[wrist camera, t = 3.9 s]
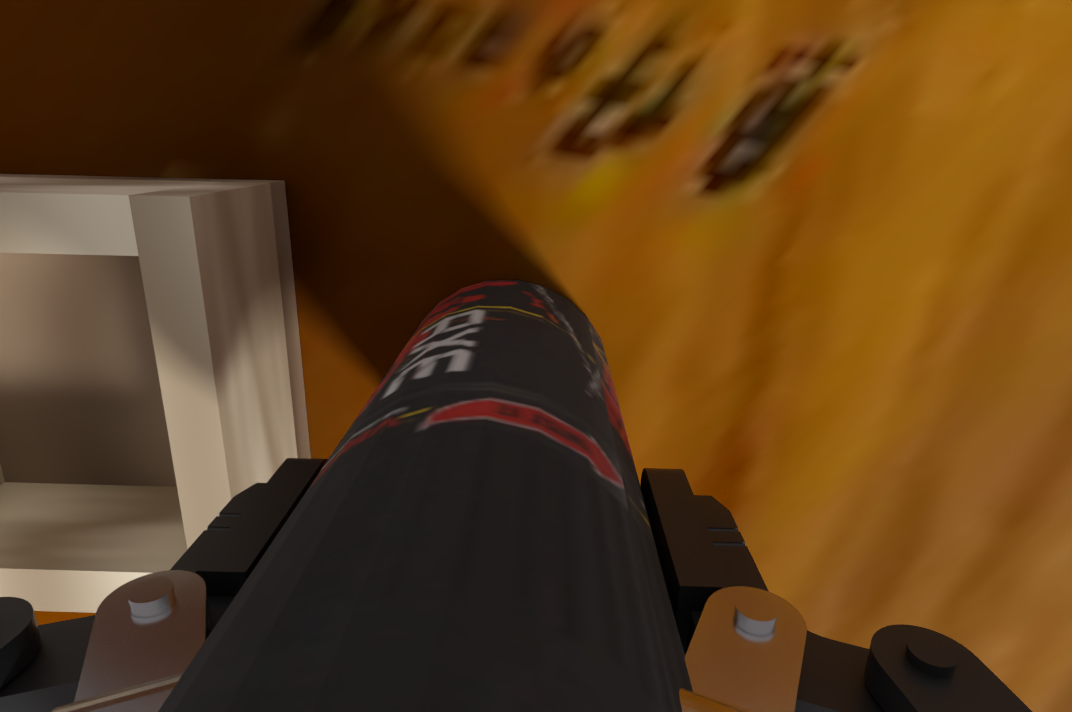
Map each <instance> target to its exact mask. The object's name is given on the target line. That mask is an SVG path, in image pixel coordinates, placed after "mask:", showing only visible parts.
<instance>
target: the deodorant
mask: <svg viewBox="0 0 1072 712" xmlns="http://www.w3.org/2000/svg"><path fill="white" fill-rule="evenodd" d="M684 658H685V655H684V651H683V647H682V643H681V639H680V636H679V632H678V628H677V624H676V620H675V617H674V613H673V609H672V605H671V602H670V598H669V594H668V590H667V586H666V583H665V579H664V575H663V571H662V567H661V564H660V560H659V556H658V552H657V548H656V545H655V541H654V537H653V533H652V529H651V526H650V522H649V518H648V514H647V510H646V507H645V503H644V499H643V495H642V491H641V488H640V484H639V480H638V476H637V473H636V469H635V465H634V461H633V457H632V454H631V450H630V446H629V442H628V438H627V435H626V431H625V427H624V423H623V419H622V416H621V412H620V408H619V404H618V400H617V397H616V393H615V389H614V385H613V381H612V378H611V374H610V370H609V366H608V363H607V359H606V355H605V352H604V348H603V345H602V341H601V339H600V337H599V336H598V334H597V332H596V331H595V329H594V327H593V326H592V324H591V322H590V321H589V319H588V318H587V317H586V316H585V315H584V314H583V313H582V312H581V311H580V310H579V309H578V308H577V307H576V306H575V305H574V304H573V303H571V302H570V301H569V300H568V299H567V298H565V297H563V296H561V295H559V294H557V293H556V292H554V291H552V290H550V289H548V288H546V287H544V286H541V285H537V284H533V283H528V282H524V281H520V280H488V281H485V282H481V283H478V284H474V285H471V286H467V287H464V288H462V289H460V290H458V291H457V292H455V293H453V294H452V295H450V296H449V297H447V298H445V299H444V300H442V301H440V302H439V303H438V304H437V305H436V306H435V308H434V309H433V310H432V311H431V312H430V313H429V314H428V315H427V316H426V317H425V318H424V320H423V321H422V322H421V323H420V325H419V326H418V328H417V329H416V331H415V332H414V334H413V335H412V337H411V338H410V340H409V341H408V342H407V344H406V345H405V347H404V348H403V350H402V351H401V353H400V354H399V356H398V357H397V359H396V360H395V362H394V363H393V365H392V366H391V368H390V369H389V371H388V372H387V373H386V375H385V376H384V378H383V379H382V381H381V382H380V384H379V385H378V387H377V388H376V390H375V391H374V393H373V394H372V396H371V397H370V399H369V400H368V401H367V403H366V404H365V406H364V407H363V409H362V410H361V412H360V413H359V415H358V416H357V418H356V419H355V421H354V422H353V424H352V425H351V427H350V428H349V430H348V431H347V432H346V434H345V435H344V437H343V438H342V440H341V441H340V443H339V444H338V446H337V447H336V449H335V450H334V452H333V453H332V455H331V456H330V458H329V459H328V461H327V462H326V463H325V465H324V466H323V468H322V469H321V471H320V472H319V474H318V475H317V477H316V478H315V480H314V481H313V483H312V484H311V486H310V487H309V489H308V490H307V492H306V493H305V494H304V496H303V497H302V499H301V500H300V502H299V503H298V505H297V506H296V508H295V509H294V511H293V512H292V514H291V515H290V517H289V518H288V520H287V521H286V523H285V524H284V525H283V527H282V528H281V530H280V531H279V533H278V534H277V536H276V537H275V539H274V540H273V542H272V543H271V545H270V546H269V548H268V549H267V551H266V552H265V554H264V555H263V556H262V558H261V559H260V561H259V562H258V564H257V565H256V567H255V568H254V570H253V571H252V573H251V574H250V576H249V577H248V579H247V580H246V582H245V583H244V585H243V586H242V587H241V589H240V590H239V592H238V593H237V595H236V596H235V598H234V599H233V601H232V602H231V604H230V605H229V607H228V608H227V610H226V611H225V613H224V614H223V616H222V617H221V618H220V620H219V621H218V623H217V624H216V626H215V627H214V629H213V630H212V632H211V633H210V635H209V636H208V638H207V639H206V641H205V642H204V644H203V645H202V646H201V648H200V649H199V651H198V652H197V654H196V655H195V657H194V658H193V660H192V661H191V663H190V664H189V666H188V667H187V669H186V670H185V672H184V673H183V675H182V676H181V677H180V679H179V681H178V682H177V684H176V686H175V687H174V689H173V690H172V692H171V693H170V694H169V696H168V697H167V699H166V700H165V702H164V703H163V705H162V706H161V708H160V709H159V711H158V712H682V707H681V703H680V698H679V689H680V688H683V689H686V690H689V691H691V692H693V689H692V685H691V682H690V678H689V674H688V670H687V666H686V662H685V659H684Z"/></svg>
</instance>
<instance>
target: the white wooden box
mask: <svg viewBox="0 0 1072 712" xmlns="http://www.w3.org/2000/svg"><path fill="white" fill-rule="evenodd" d="M287 458H309V459H311V455H310V444H309V433H308V423H307V412H306V401H305V391H304V380H303V369H302V359H301V348H300V338H299V327H298V316H297V306H296V295H295V284H294V274H293V263H292V252H291V242H290V231H289V220H288V210H287V199H286V188H285V181H283V180H241V179H199V178H157V177H114V176H72V175H30V174H0V597H17V598H21V599H24V600H26V601H28V602H29V603H30V604H31V605H32V607H33V610H34V611H60V612H94V613H96V611H97V609H98V607H99V605H100V604H101V602H102V601H103V600H104V599H105V598H106V597H107V596H108V595H109V594H110V593H112V592H113V591H114V590H116V589H117V588H119V587H120V586H122V585H124V584H125V583H127V582H129V581H132V580H134V579H136V578H139V577H141V576H144V575H147V574H151V573H155V572H160V571H168V570H170V569H171V568H172V567H173V566H174V564H175V563H176V562H177V561H178V560H179V559H180V558H181V556H182V555H183V554H184V553H185V552H186V551H187V550H188V548H189V547H190V546H191V545H192V544H193V543H194V541H195V540H196V539H197V538H198V537H199V536H200V535H201V533H202V532H203V531H204V530H207V528H208V525H209V524H210V523H211V522H212V521H213V520H214V518H215V517H216V516H219V513H220V512H221V510H222V509H223V508H224V507H225V506H226V505H227V504H228V502H229V501H230V500H231V499H232V498H233V497H234V496H235V495H237V494H239V493H240V492H242V491H244V490H245V489H247V488H249V487H250V486H252V485H254V484H256V483H267V482H268V481H269V479H270V478H271V477H272V476H273V474H274V473H275V472H276V471H277V469H278V468H279V467H280V466H281V464H282V463H283V462H284V461H285V460H286V459H287Z"/></svg>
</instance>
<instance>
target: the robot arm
mask: <svg viewBox="0 0 1072 712" xmlns="http://www.w3.org/2000/svg"><path fill="white" fill-rule="evenodd" d="M327 461H328V459H309V458H287V459H286V460H285V461H284V462H283V463H282V464H281V466H280V467H279V468H278V469H277V471H276V472H275V473H274V474H273V476H272V477H271V478H270V479H269V481H268V482H267V483H256V484H254V485H252V486H250V487H249V488H247V489H245V490H244V491H242V492H240V493H239V494H237V495H235V496H234V497H233V498H232V499H231V500H230V501H229V502H228V504H227V505H226V506H225V507H224V508H223V509H222V510H221V512H220V513H219V516H216V517H215V518H214V520H213V521H212V522H211V523H210V524H209V525H208V528H207V530H204V531H203V532H202V533H201V535H200V536H199V537H198V538H197V539H196V540H195V541H194V543H193V544H192V545H191V546H190V547H189V548H188V550H187V551H186V552H185V553H184V554H183V555H182V556H181V558H180V559H179V560H178V561H177V562H176V563H175V564H174V566H173V567H172V568H171V569H170V570H168V571H160V572H155V573H151V574H147V575H144V576H141V577H139V578H136V579H134V580H132V581H129V582H127V583H125V584H124V585H122V586H120V587H119V588H117V589H116V590H114V591H113V592H112V593H110V594H109V595H108V596H107V597H106V598H105V599H104V600H103V601H102V602H101V604H100V605H99V607H98V609H97V611H96V615H93V616H89V617H83V618H78V619H72V620H66V621H61V622H55V623H50V624H44V625H39V626H38V625H37V621H36V618H35V614H34V610H33V607H32V605H31V604H30V603H29V602H28V601H26V600H24V599H21V598H17V597H0V712H158V711H159V709H160V708H161V706H162V705H163V703H164V702H165V700H166V699H167V697H168V696H169V694H170V693H171V692H172V690H173V689H174V687H175V686H176V684H177V682H178V681H179V679H180V677H181V676H182V675H183V673H184V672H185V670H186V669H187V667H188V666H189V664H190V663H191V661H192V660H193V658H194V657H195V655H196V654H197V652H198V651H199V649H200V648H201V646H202V645H203V644H204V642H205V641H206V639H207V638H208V636H209V635H210V633H211V632H212V630H213V629H214V627H215V626H216V624H217V623H218V621H219V620H220V618H221V617H222V616H223V614H224V613H225V611H226V610H227V608H228V607H229V605H230V604H231V602H232V601H233V599H234V598H235V596H236V595H237V593H238V592H239V590H240V589H241V587H242V586H243V585H244V583H245V582H246V580H247V579H248V577H249V576H250V574H251V573H252V571H253V570H254V568H255V567H256V565H257V564H258V562H259V561H260V559H261V558H262V556H263V555H264V554H265V552H266V551H267V549H268V548H269V546H270V545H271V543H272V542H273V540H274V539H275V537H276V536H277V534H278V533H279V531H280V530H281V528H282V527H283V525H284V524H285V523H286V521H287V520H288V518H289V517H290V515H291V514H292V512H293V511H294V509H295V508H296V506H297V505H298V503H299V502H300V500H301V499H302V497H303V496H304V494H305V493H306V492H307V490H308V489H309V487H310V486H311V484H312V483H313V481H314V480H315V478H316V477H317V475H318V474H319V472H320V471H321V469H322V468H323V466H324V465H325V463H326V462H327ZM640 488H641V491H642V495H643V499H644V503H645V507H646V510H647V514H648V518H649V522H650V526H651V529H652V533H653V537H654V541H655V545H656V548H657V552H658V556H659V560H660V564H661V567H662V571H663V575H664V579H665V583H666V586H667V590H668V594H669V598H670V602H671V605H672V609H673V613H674V617H675V620H676V624H677V628H678V632H679V636H680V639H681V643H682V647H683V651H684V655H685V658H684V659H685V662H686V666H687V670H688V674H689V678H690V682H691V685H692V689H693V692H691V691H689V690H686V689H683V688H680V689H679V698H680V703H681V707H682V712H1032V711H1031V710H1030V709H1029V708H1028V707H1027V706H1026V705H1025V704H1024V703H1023V702H1022V701H1021V700H1020V699H1019V698H1018V697H1017V696H1016V695H1015V694H1014V693H1013V692H1012V691H1011V690H1010V689H1009V688H1008V687H1007V686H1006V685H1005V684H1004V683H1003V682H1002V681H1001V680H1000V679H999V678H998V677H997V676H996V675H995V674H994V673H993V672H992V671H991V670H990V669H989V668H988V667H987V666H986V665H984V664H983V663H982V662H981V661H980V660H979V659H978V658H977V657H976V656H975V655H974V654H973V653H972V652H971V651H969V650H968V649H967V648H965V647H964V646H963V645H961V644H959V643H958V642H956V641H954V640H953V639H951V638H949V637H947V636H945V635H943V634H940V633H938V632H935V631H933V630H929V629H926V628H922V627H918V626H912V625H891V626H886V627H884V628H881V629H880V630H878V631H877V632H876V633H875V634H874V635H873V638H872V640H871V644H870V649H866V648H862V647H858V646H854V645H851V644H847V643H843V642H839V641H835V640H831V639H828V638H824V637H821V636H819V635H816V634H814V633H811V632H809V631H807V627H806V623H805V621H804V619H803V617H802V615H801V614H800V613H799V612H798V610H797V609H796V608H795V607H794V606H793V605H791V604H790V603H789V602H787V601H786V600H784V599H783V598H781V597H779V596H777V595H775V594H773V593H771V592H769V591H768V589H767V587H766V585H765V583H764V581H763V579H762V577H761V575H760V573H759V571H758V568H757V566H756V564H755V562H754V560H753V558H752V556H751V554H750V552H749V550H748V548H747V546H745V542H744V540H743V537H742V535H741V533H740V532H738V527H737V525H736V523H735V521H734V519H733V517H732V515H731V513H730V511H729V510H728V509H727V508H725V507H724V506H723V505H722V504H721V503H719V502H718V501H717V500H716V499H715V498H713V497H712V496H698V495H693V492H692V490H691V487H690V485H689V482H688V480H687V478H686V475H685V473H684V471H683V470H682V469H654V468H644V469H643V472H642V477H641V487H640Z"/></svg>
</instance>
